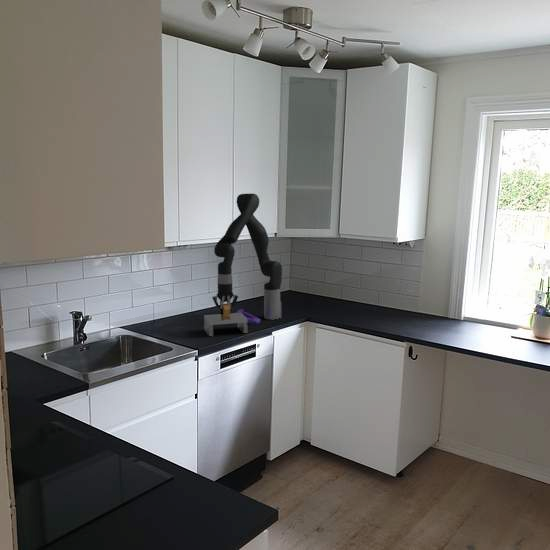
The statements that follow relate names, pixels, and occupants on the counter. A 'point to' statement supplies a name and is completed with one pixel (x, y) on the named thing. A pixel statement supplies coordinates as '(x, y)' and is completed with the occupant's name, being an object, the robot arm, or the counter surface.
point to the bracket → (249, 317)
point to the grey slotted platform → (225, 322)
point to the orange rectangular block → (226, 311)
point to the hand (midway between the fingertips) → (225, 314)
